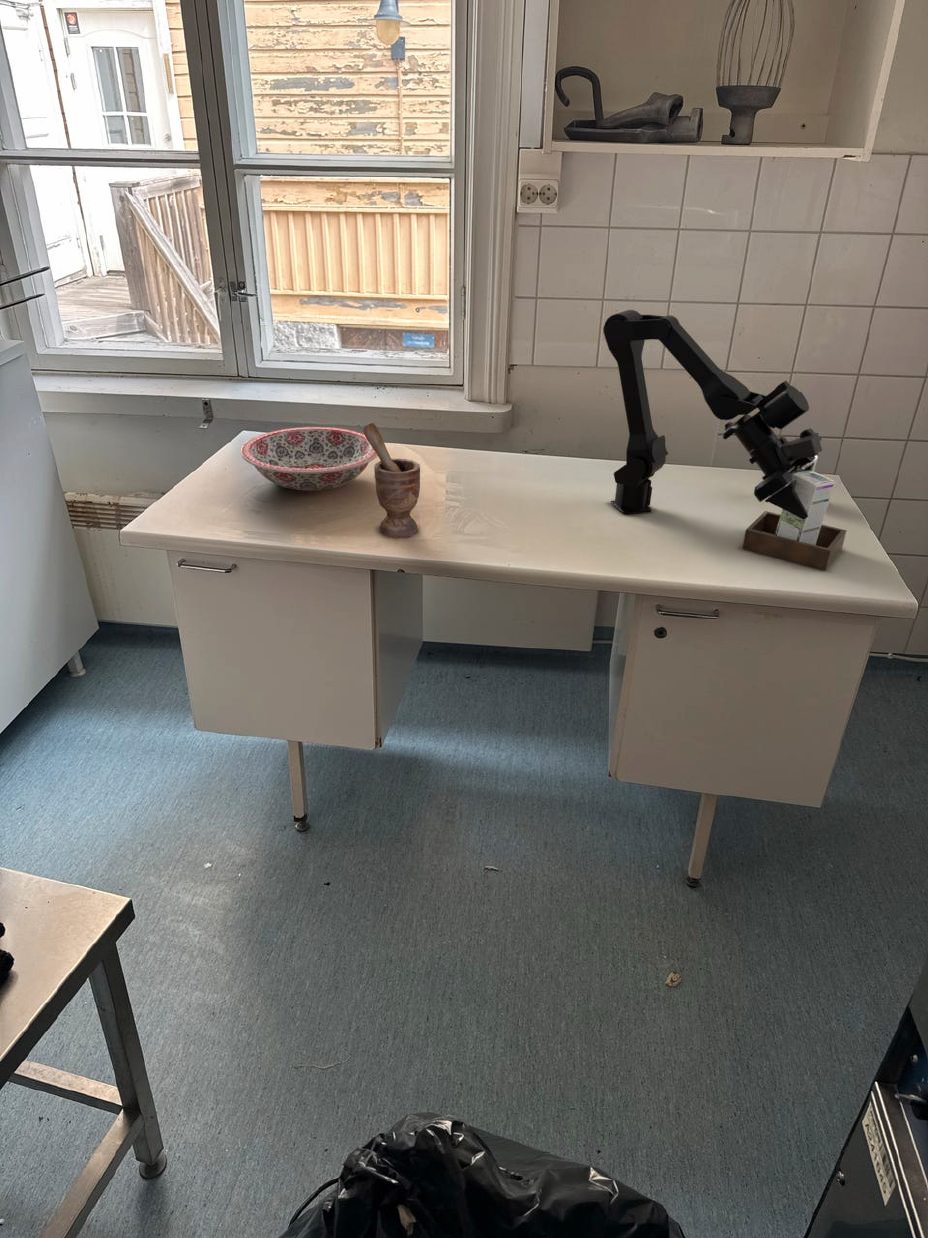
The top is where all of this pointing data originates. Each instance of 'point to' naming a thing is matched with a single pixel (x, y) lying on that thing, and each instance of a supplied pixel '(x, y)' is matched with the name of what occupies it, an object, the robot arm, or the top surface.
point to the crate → (793, 543)
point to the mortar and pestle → (394, 487)
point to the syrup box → (807, 507)
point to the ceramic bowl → (309, 456)
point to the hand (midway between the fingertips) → (812, 511)
